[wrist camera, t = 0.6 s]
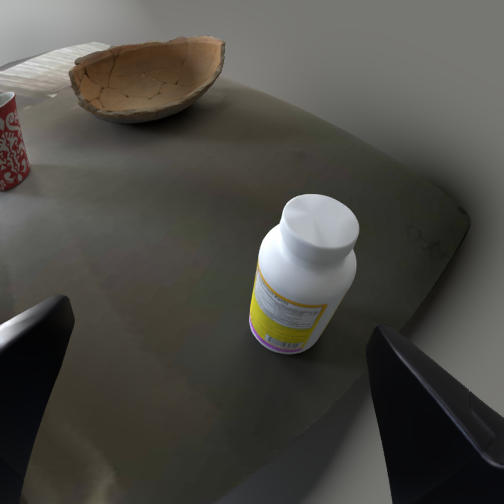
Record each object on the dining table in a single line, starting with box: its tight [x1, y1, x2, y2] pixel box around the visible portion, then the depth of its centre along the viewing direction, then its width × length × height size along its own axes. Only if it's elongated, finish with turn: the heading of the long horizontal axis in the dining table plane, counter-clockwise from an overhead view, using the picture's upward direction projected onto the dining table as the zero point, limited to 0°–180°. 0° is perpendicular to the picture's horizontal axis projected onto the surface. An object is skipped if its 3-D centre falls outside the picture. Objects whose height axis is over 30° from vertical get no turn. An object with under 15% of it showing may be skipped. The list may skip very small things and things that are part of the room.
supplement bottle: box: [249, 194, 359, 354], centre depth 23 cm, size 7×7×13 cm
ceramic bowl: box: [69, 36, 225, 123], centre depth 51 cm, size 30×27×15 cm
